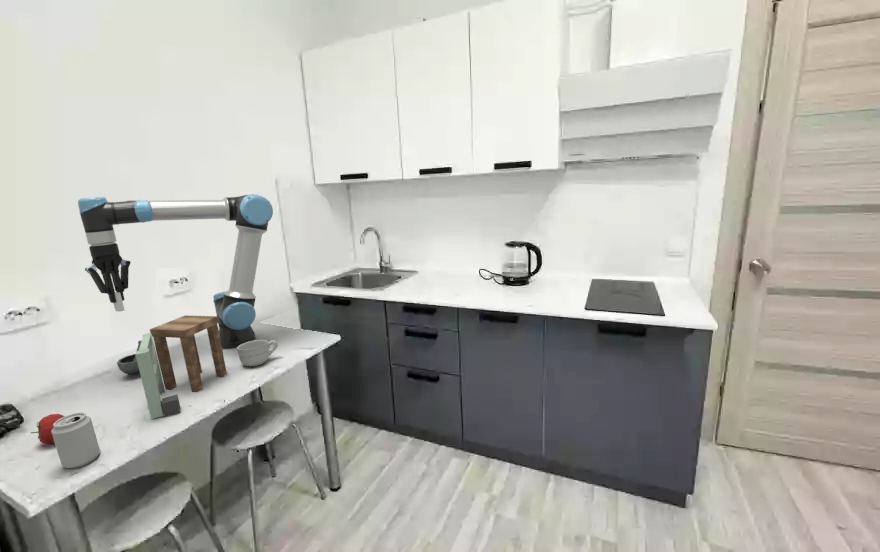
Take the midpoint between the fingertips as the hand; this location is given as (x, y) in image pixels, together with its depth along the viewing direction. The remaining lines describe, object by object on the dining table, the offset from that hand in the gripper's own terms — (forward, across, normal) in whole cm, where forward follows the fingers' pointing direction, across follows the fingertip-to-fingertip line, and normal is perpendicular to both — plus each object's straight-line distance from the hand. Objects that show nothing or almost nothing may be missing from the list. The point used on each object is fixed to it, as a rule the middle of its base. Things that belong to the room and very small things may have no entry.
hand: (120, 310), depth 143 cm
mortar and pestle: (+27, -3, -4) cm, 27 cm away
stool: (+26, -6, +24) cm, 36 cm away
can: (+27, +34, +36) cm, 56 cm away
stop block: (+26, +11, +36) cm, 46 cm away
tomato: (+27, +32, +18) cm, 45 cm away
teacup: (+27, -25, +34) cm, 50 cm away
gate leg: (+26, +9, +27) cm, 39 cm away
